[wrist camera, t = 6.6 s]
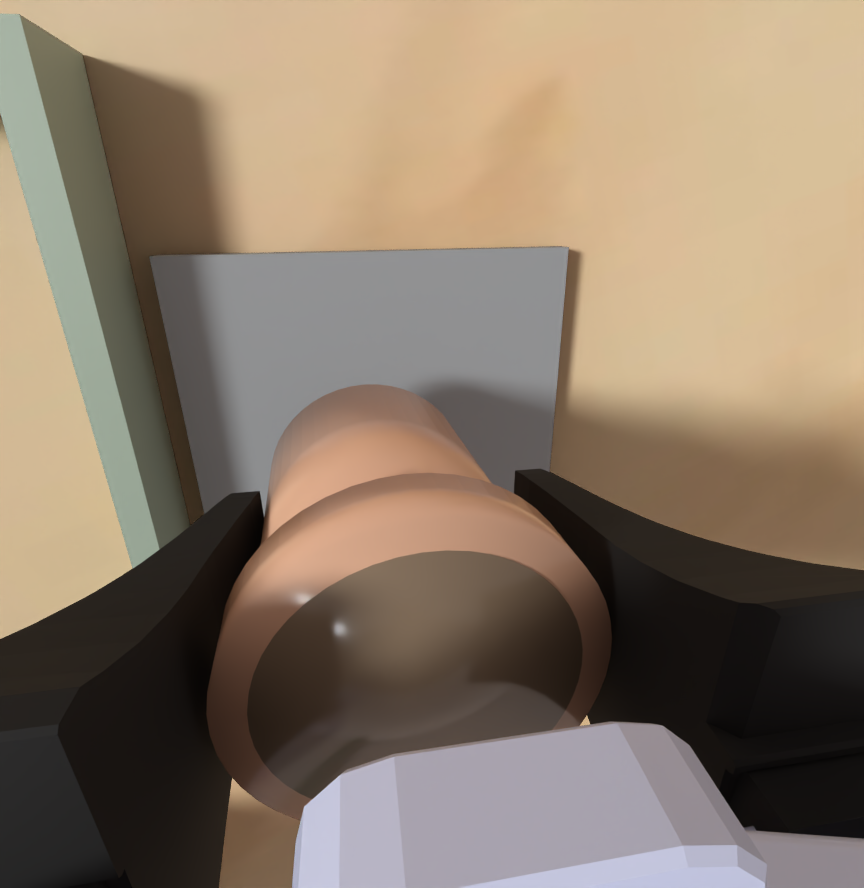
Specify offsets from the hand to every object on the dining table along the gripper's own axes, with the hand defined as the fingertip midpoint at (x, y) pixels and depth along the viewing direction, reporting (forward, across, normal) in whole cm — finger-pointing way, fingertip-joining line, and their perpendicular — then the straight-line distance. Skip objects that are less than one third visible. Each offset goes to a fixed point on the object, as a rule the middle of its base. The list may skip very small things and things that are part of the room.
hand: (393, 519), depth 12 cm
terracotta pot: (+2, 0, 0) cm, 2 cm away
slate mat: (+5, 0, 0) cm, 5 cm away
